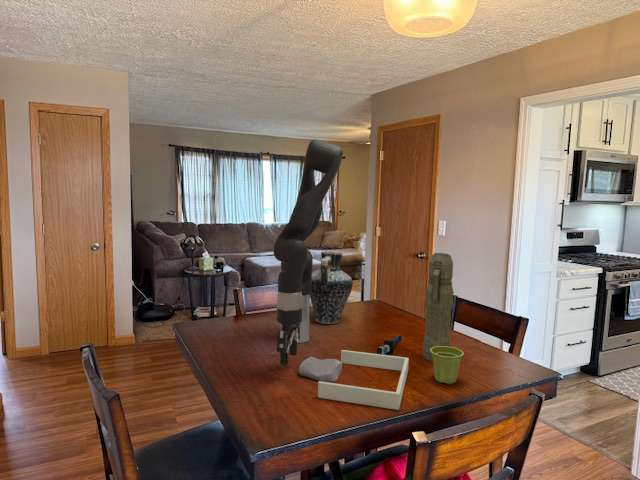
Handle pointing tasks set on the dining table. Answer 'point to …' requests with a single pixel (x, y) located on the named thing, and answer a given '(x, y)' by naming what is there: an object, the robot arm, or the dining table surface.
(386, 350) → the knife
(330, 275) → the jug
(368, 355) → the cream u-shaped barrier
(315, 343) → the dining table surface
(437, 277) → the stone statue
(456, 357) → the plant pot
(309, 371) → the stone block
